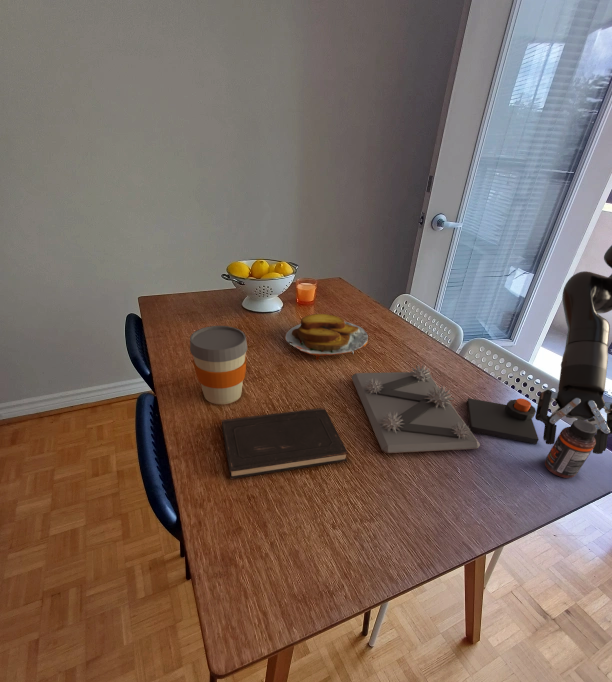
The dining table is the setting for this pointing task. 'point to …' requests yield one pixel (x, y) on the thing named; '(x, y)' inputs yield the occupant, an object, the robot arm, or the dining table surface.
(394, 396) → the grey spiked board
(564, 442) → the supplement bottle
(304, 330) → the food on plate
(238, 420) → the hardcover book
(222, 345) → the reusable coffee cup
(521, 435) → the kitchen scale
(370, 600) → the dining table surface
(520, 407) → the button
